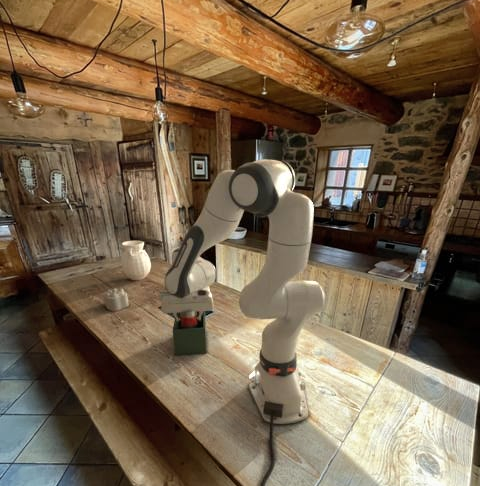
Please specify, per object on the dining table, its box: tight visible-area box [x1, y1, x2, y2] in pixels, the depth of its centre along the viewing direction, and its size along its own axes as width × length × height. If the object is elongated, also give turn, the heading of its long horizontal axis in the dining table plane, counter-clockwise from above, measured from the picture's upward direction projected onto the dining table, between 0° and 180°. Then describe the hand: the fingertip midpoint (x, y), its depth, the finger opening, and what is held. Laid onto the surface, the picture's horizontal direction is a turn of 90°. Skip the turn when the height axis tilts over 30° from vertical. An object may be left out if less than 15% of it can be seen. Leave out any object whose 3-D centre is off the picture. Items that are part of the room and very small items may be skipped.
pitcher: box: [120, 240, 152, 281], centre depth 180 cm, size 19×18×25 cm
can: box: [180, 311, 198, 329], centre depth 107 cm, size 6×6×9 cm
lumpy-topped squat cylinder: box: [103, 288, 130, 312], centre depth 146 cm, size 10×13×9 cm
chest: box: [172, 311, 207, 356], centre depth 113 cm, size 16×13×12 cm
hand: (189, 320), depth 107 cm, fingers closed on can, 6 cm apart
